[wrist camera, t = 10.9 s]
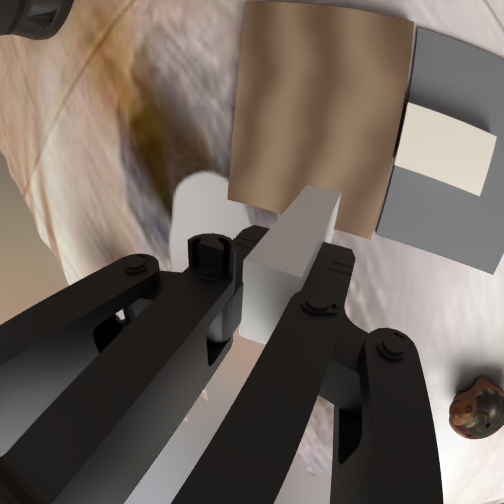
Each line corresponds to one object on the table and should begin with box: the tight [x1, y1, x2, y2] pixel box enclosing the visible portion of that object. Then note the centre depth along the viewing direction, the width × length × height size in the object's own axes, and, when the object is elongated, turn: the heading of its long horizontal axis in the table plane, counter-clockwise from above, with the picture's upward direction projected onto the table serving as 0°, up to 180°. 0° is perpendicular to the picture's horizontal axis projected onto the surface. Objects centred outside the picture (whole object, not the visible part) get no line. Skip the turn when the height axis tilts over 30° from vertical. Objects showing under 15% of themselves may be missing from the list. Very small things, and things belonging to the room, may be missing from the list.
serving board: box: [228, 2, 414, 239], centre depth 27 cm, size 16×22×2 cm
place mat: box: [376, 28, 504, 274], centre depth 23 cm, size 15×22×1 cm
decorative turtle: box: [449, 376, 504, 439], centre depth 31 cm, size 10×15×8 cm, turn 71°
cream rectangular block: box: [394, 102, 497, 196], centre depth 23 cm, size 9×6×2 cm, turn 85°
